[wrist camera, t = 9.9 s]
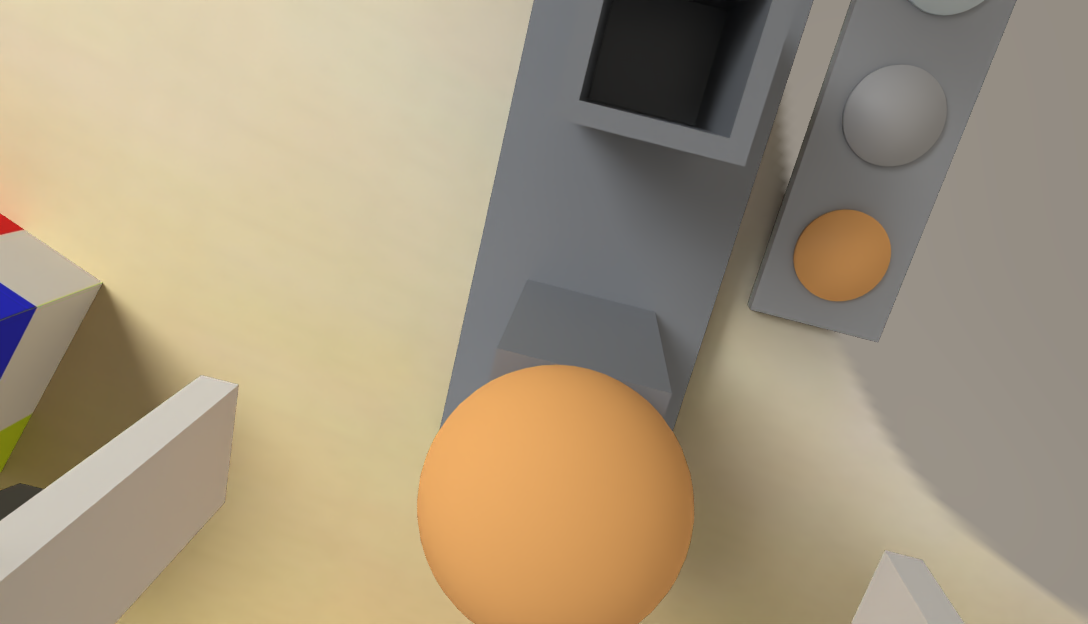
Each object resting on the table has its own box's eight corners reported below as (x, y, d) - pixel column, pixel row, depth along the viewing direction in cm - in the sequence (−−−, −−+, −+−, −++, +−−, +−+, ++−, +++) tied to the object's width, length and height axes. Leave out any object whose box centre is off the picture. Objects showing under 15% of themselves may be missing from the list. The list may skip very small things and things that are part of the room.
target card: (901, -148, 21) (912, -157, 20) (1051, -111, 21) (1068, -119, 20) (747, 304, 25) (751, 311, 24) (872, 336, 25) (880, 344, 24)
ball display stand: (666, -583, 19) (705, -1045, 11) (970, -509, 19) (1220, -926, 11) (440, 440, 28) (376, 571, 20) (646, 493, 28) (659, 646, 20)
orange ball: (476, 302, 18) (412, 401, 12) (712, 364, 18) (756, 493, 12) (430, 506, 20) (356, 674, 14) (644, 562, 20) (655, 755, 14)
